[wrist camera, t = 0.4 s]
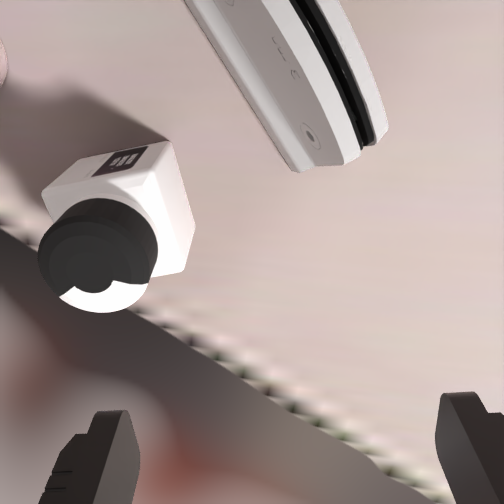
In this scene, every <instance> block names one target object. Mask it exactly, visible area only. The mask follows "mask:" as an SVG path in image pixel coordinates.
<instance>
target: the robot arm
mask: <svg viewBox="0 0 504 504" xmlns="http://www.w3.org/2000/svg"><path fill="white" fill-rule="evenodd" d="M435 444H436V450H437V455H438V458H439V461H440V464H441V466H442V469H443V471H444V474H445V476H446V479H447V481H448V484H449V486H450V489H451V491H452V494H453V496H454V499H455V501H456V504H504V415H503V414H502V413H488V412H487V410H486V409H485V407H484V405H483V403H482V402H481V400H480V398H479V396H478V395H477V394H476V393H475V392H457V393H443V394H442V395H441V398H440V405H439V411H438V418H437V425H436V431H435ZM139 469H140V451H139V446H138V443H137V439H136V436H135V432H134V429H133V425H132V422H131V419H130V415H129V413H128V411H127V410H116V411H99V412H97V413H96V414H95V415H94V417H93V420H92V422H91V425H90V427H89V430H88V433H87V434H75V436H74V437H73V438H72V439H71V440H70V441H69V443H68V444H67V445H66V446H65V447H64V449H62V451H61V452H60V454H59V456H58V458H57V461H56V463H55V466H54V468H53V470H52V475H51V476H50V477H49V480H48V482H47V484H46V487H45V492H44V493H43V494H42V496H41V498H40V501H39V503H38V504H132V500H133V496H134V492H135V488H136V484H137V479H138V475H139Z"/></svg>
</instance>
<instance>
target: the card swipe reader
mask: <svg viewBox="0 0 504 504" xmlns="http://www.w3.org/2000/svg"><path fill="white" fill-rule="evenodd" d="M184 1H185V3H186V4H187V6H188V7H189V9H190V10H191V12H192V14H193V15H194V17H195V18H196V20H197V22H198V23H199V25H200V26H201V28H202V29H203V31H204V33H205V34H206V36H207V37H208V39H209V41H210V42H211V44H212V45H213V47H214V48H215V50H216V52H217V53H218V55H219V56H220V58H221V60H222V61H223V63H224V64H225V66H226V68H227V69H228V71H229V72H230V74H231V75H232V77H233V79H234V80H235V82H236V83H237V85H238V87H239V88H240V90H241V91H242V93H243V94H244V96H245V98H246V99H247V101H248V102H249V104H250V106H251V107H252V109H253V110H254V112H255V113H256V115H257V117H258V118H259V120H260V121H261V123H262V125H263V126H264V128H265V129H266V131H267V133H268V134H269V136H270V137H271V139H272V140H273V142H274V144H275V145H276V147H277V148H278V150H279V152H280V153H281V155H282V156H283V158H284V159H285V161H286V163H287V164H288V166H289V167H290V169H291V171H294V172H298V173H301V172H303V171H306V170H308V169H311V168H313V167H316V166H339V165H345V164H347V163H349V162H351V161H352V160H354V159H356V158H358V157H360V155H361V150H362V149H363V146H372V145H375V144H376V143H377V142H378V141H379V140H380V139H381V138H382V136H383V135H384V134H385V133H386V132H387V130H388V121H387V118H386V114H385V110H384V107H383V103H382V100H381V97H380V94H379V91H378V88H377V85H376V83H375V80H374V78H373V75H372V72H371V70H370V67H369V65H368V62H367V60H366V57H365V55H364V52H363V50H362V48H361V46H360V44H359V42H358V39H357V37H356V35H355V33H354V31H353V29H352V27H351V24H350V22H349V20H348V18H347V16H346V14H345V12H344V11H343V9H342V7H341V5H340V3H339V1H338V0H184Z"/></svg>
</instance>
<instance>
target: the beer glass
mask: <svg viewBox="0 0 504 504" xmlns="http://www.w3.org/2000/svg"><path fill="white" fill-rule="evenodd" d="M7 68H8V63H7V55H6V51H5V48H4V46H3V43H2V41H1V39H0V87H1V86H2V84H3V83H4V81H5V78H6V75H7Z"/></svg>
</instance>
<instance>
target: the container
mask: <svg viewBox="0 0 504 504" xmlns="http://www.w3.org/2000/svg"><path fill="white" fill-rule="evenodd" d="M41 195H42V198H43V201H44V203H45V205H46V207H47V210H48V212H49V214H50V217H51V219H52V221H53V223H54V224H53V225H52V226H51V227H50V228H49V229H48V231H47V232H46V233H45V234H44V236H43V238H42V239H41V242H40V245H39V249H38V264H39V268H40V272H41V274H42V276H43V278H44V280H45V282H46V283H47V285H48V286H49V287H50V288H51V290H52V291H53V292H54V293H55V294H56V295H57V296H59V297H60V298H61V299H62V300H64V301H65V302H67V303H68V304H70V305H72V306H74V307H77V308H80V309H83V310H87V311H92V312H113V311H117V310H121V309H124V308H126V307H128V306H130V305H131V304H133V303H134V302H135V301H137V300H138V299H139V298H140V297H141V295H142V294H143V293H144V291H145V289H146V287H147V285H148V282H149V280H150V278H151V277H156V276H162V275H167V274H173V273H178V272H181V271H183V269H184V268H185V264H186V260H187V257H188V253H189V249H190V245H191V242H192V238H193V234H194V231H195V223H194V219H193V216H192V212H191V209H190V205H189V202H188V198H187V195H186V191H185V188H184V184H183V181H182V177H181V174H180V170H179V167H178V163H177V160H176V156H175V153H174V149H173V146H172V144H171V142H169V141H163V142H158V143H153V144H149V145H144V146H139V147H134V148H130V149H125V150H120V151H115V152H110V153H106V154H101V155H96V156H91V157H86V158H82V159H79V160H78V161H76V162H75V163H74V164H73V165H72V166H71V167H69V168H68V169H67V170H66V171H65V172H64V173H62V174H61V175H60V176H59V177H58V178H56V179H55V180H54V181H53V182H52V183H51V184H49V185H48V186H47V187H46V188H45V189H44V190H43V191H42V193H41Z"/></svg>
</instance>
